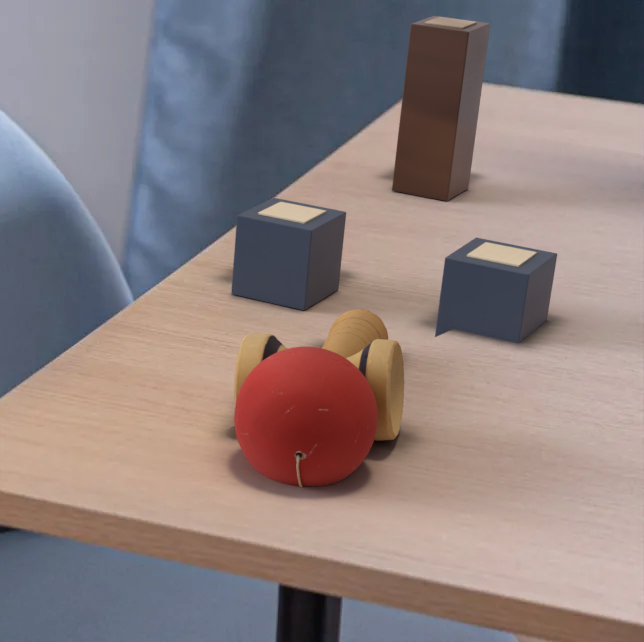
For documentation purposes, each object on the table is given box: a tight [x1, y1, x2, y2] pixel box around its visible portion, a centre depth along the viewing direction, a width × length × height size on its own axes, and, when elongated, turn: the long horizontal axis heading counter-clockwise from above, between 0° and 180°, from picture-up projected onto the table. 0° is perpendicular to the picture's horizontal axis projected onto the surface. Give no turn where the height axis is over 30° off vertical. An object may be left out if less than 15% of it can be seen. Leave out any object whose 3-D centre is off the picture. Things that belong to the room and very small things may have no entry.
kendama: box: [233, 308, 405, 488], centre depth 80 cm, size 8×6×18 cm
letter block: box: [391, 15, 491, 202], centre depth 117 cm, size 4×4×11 cm
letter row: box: [230, 197, 558, 344], centre depth 95 cm, size 16×4×5 cm, turn 59°
